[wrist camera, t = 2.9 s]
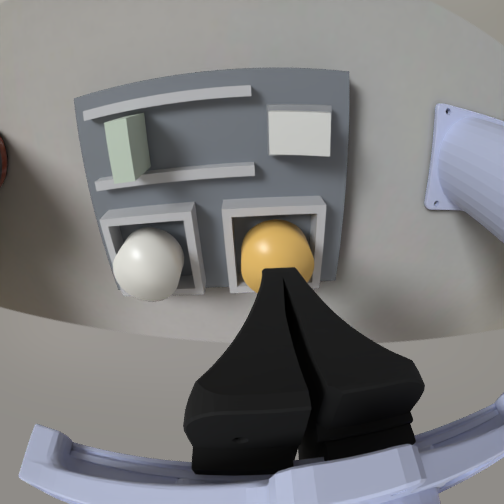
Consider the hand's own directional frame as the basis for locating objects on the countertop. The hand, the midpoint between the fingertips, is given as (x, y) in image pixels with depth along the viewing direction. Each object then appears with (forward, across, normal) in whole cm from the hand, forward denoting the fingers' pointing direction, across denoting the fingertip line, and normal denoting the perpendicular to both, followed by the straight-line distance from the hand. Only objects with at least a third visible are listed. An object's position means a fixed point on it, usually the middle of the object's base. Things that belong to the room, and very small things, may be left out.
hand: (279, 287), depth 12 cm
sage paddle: (+7, +7, -5) cm, 11 cm away
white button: (+6, +7, +2) cm, 9 cm away
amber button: (+6, 0, +2) cm, 6 cm away
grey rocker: (+6, -2, -5) cm, 8 cm away
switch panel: (+8, +3, -2) cm, 9 cm away
